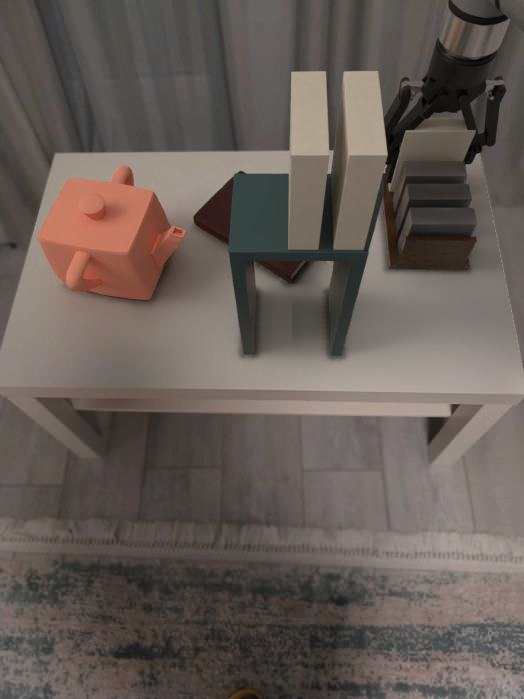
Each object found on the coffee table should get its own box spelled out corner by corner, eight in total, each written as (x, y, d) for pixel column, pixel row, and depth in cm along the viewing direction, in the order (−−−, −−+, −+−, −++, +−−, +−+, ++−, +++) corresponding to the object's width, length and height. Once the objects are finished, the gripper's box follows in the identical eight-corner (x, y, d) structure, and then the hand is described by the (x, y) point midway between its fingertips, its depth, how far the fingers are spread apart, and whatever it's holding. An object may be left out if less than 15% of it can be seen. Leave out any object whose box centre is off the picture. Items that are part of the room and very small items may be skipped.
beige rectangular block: (450, 191, 82) (476, 131, 71) (388, 191, 82) (405, 131, 71) (447, 178, 83) (472, 117, 72) (387, 178, 84) (403, 117, 73)
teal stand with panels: (338, 292, 75) (384, 68, 43) (341, 355, 71) (394, 157, 38) (246, 291, 76) (222, 69, 43) (243, 354, 71) (214, 158, 39)
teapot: (49, 314, 75) (3, 259, 62) (101, 204, 84) (70, 137, 72) (174, 338, 73) (153, 286, 60) (214, 222, 82) (202, 156, 69)
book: (289, 286, 76) (290, 274, 73) (194, 227, 81) (191, 214, 78) (335, 233, 80) (337, 220, 77) (241, 181, 86) (240, 166, 83)
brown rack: (467, 269, 76) (490, 231, 68) (388, 269, 77) (402, 231, 69) (450, 177, 85) (468, 133, 76) (379, 177, 85) (390, 134, 77)
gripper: (554, 22, 62) (487, 160, 82) (373, 24, 63) (350, 160, 83) (568, 61, 59) (495, 194, 79) (377, 62, 60) (353, 194, 80)
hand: (421, 177), depth 81 cm, fingers closed on beige rectangular block, 10 cm apart
